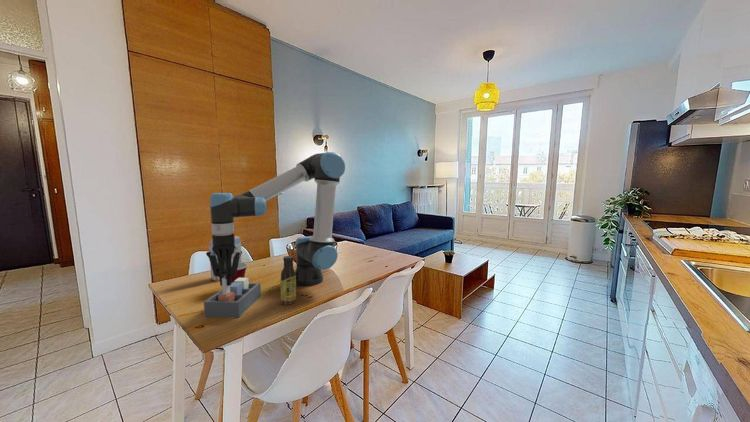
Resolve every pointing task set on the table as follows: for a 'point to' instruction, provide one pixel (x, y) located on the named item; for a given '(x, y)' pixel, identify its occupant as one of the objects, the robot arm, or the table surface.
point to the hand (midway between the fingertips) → (226, 293)
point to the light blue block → (236, 288)
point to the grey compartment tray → (232, 303)
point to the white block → (243, 282)
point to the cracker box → (238, 247)
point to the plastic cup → (240, 271)
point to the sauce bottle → (288, 282)
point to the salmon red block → (227, 297)
